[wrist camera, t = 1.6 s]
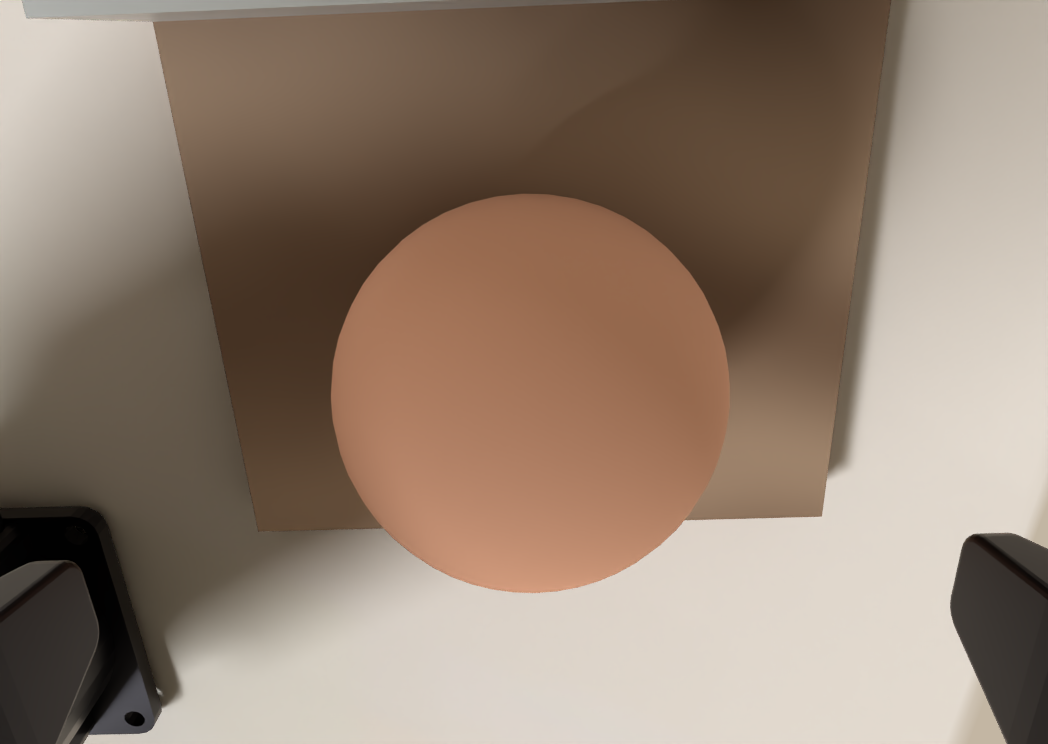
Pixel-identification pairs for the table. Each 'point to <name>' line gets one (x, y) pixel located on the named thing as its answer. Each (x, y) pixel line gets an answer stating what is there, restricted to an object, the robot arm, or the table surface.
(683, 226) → the fence board
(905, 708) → the table surface
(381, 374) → the rubber ball
